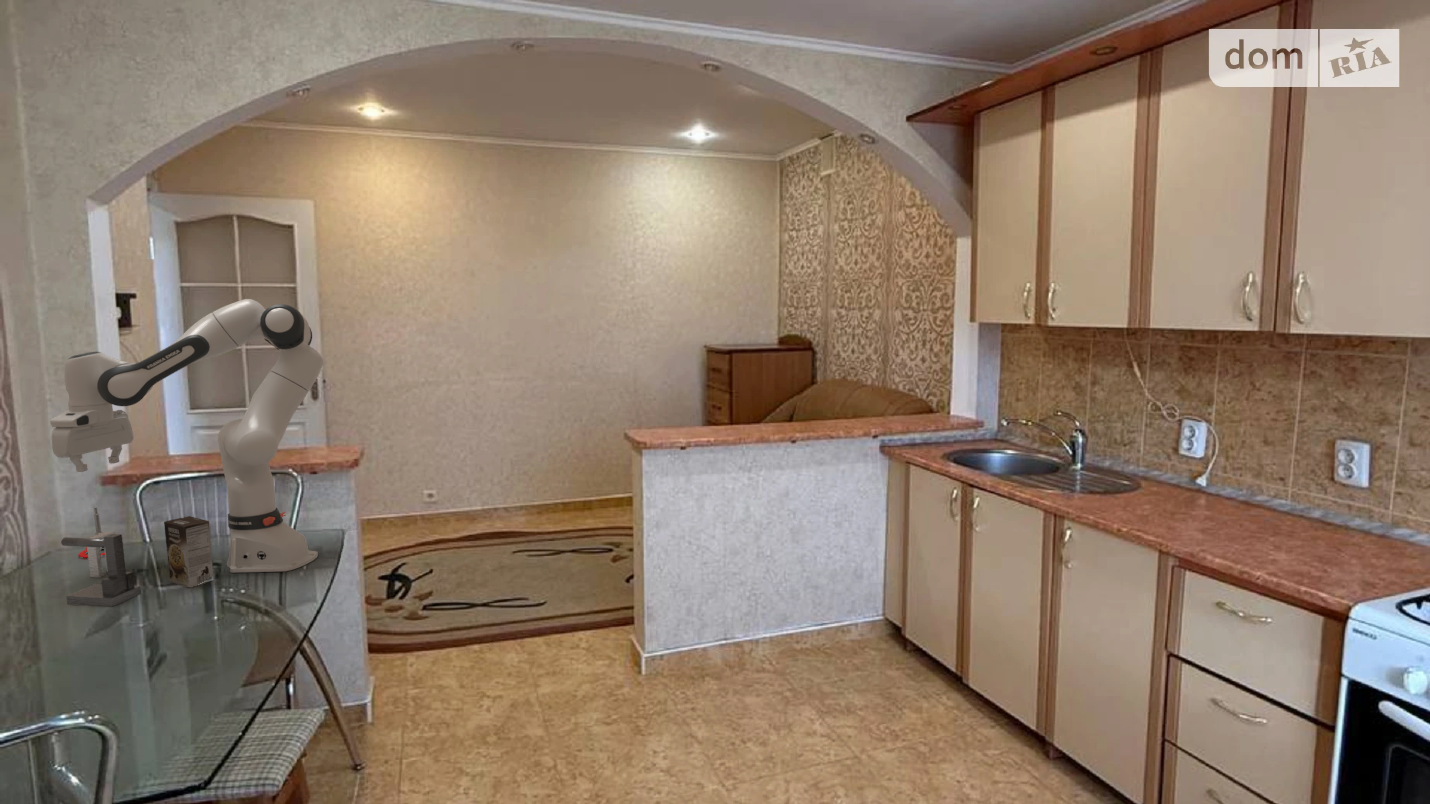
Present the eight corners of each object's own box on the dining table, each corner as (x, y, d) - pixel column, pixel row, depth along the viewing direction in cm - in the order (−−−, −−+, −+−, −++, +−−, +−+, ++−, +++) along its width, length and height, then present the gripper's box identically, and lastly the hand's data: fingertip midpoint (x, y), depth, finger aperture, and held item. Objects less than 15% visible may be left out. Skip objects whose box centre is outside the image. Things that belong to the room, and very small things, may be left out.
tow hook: (113, 557, 218) (119, 546, 226) (107, 514, 215) (114, 504, 223) (75, 562, 214) (83, 551, 222) (68, 518, 211) (77, 508, 219)
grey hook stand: (141, 593, 191) (134, 530, 188) (112, 606, 183) (105, 541, 181) (86, 590, 192) (79, 528, 190) (56, 603, 185) (48, 538, 182)
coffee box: (168, 582, 198) (162, 521, 196) (195, 574, 204) (189, 515, 202) (188, 588, 194) (182, 526, 192) (215, 580, 200) (209, 519, 197)
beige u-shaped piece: (119, 569, 207) (115, 531, 205) (99, 577, 201) (94, 539, 200) (110, 569, 207) (106, 531, 206) (90, 577, 201) (85, 538, 200)
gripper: (115, 408, 211) (121, 458, 213) (43, 421, 190) (51, 476, 193) (136, 408, 210) (142, 458, 212) (66, 421, 190) (74, 476, 192)
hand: (98, 467), depth 202 cm, fingers open, 8 cm apart
